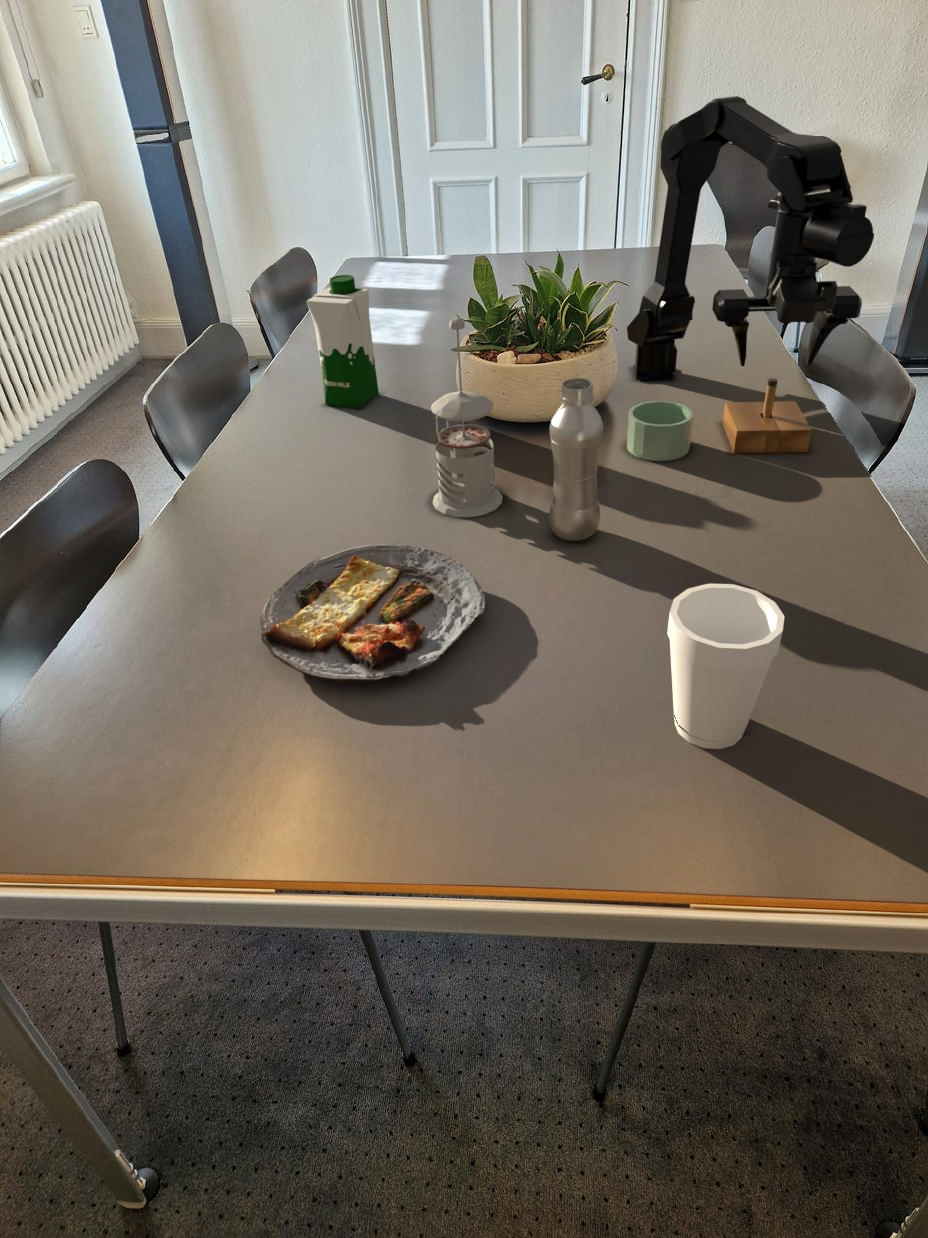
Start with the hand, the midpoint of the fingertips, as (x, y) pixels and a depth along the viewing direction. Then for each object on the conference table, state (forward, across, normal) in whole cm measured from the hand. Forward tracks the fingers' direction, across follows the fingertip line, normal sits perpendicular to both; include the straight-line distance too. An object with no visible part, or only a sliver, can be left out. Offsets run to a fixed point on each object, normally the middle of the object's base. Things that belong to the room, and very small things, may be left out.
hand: (775, 364), depth 122 cm
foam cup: (+11, -17, -63) cm, 66 cm away
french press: (+11, -44, -18) cm, 49 cm away
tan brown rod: (+11, 0, 0) cm, 11 cm away
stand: (+11, 0, 0) cm, 11 cm away
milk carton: (+12, -67, +18) cm, 70 cm away
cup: (+11, -16, -3) cm, 20 cm away
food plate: (+11, -52, -47) cm, 71 cm away
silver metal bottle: (+11, -29, -28) cm, 42 cm away
